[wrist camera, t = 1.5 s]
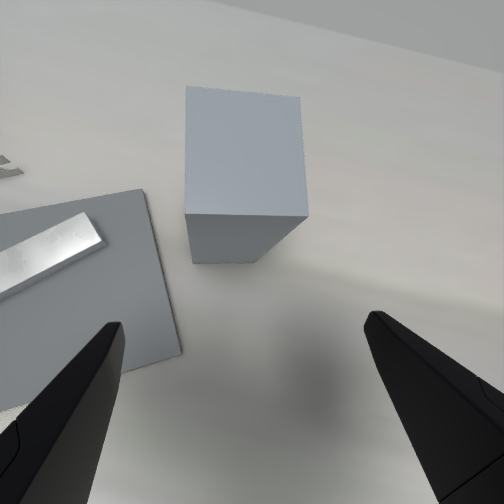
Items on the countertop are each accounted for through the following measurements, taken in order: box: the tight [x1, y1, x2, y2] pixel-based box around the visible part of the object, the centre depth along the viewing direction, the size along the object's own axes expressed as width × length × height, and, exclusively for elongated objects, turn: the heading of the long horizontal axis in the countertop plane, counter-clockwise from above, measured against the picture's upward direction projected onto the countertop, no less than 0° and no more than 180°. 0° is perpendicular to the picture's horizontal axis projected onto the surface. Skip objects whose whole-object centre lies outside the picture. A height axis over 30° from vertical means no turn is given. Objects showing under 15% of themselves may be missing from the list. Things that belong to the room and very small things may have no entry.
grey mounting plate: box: [0, 189, 182, 412], centre depth 19 cm, size 13×18×2 cm
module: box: [185, 86, 309, 263], centre depth 18 cm, size 6×5×12 cm
